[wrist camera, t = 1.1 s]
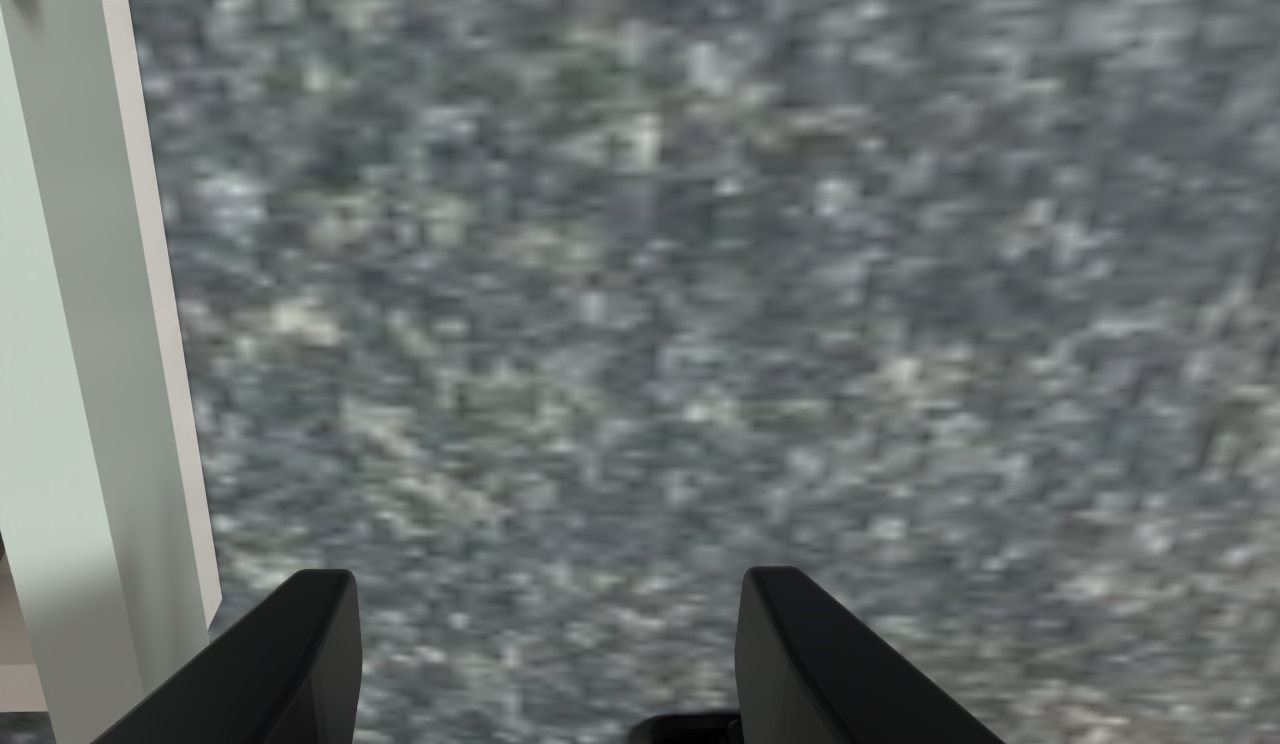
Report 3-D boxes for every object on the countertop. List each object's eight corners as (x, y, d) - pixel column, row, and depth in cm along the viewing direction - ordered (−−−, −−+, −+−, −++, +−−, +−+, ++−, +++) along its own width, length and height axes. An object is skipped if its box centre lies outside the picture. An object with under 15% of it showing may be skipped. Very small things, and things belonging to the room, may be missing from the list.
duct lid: (176, 708, 20) (249, 691, 21) (176, 1195, 13) (291, 1149, 13) (-75, -595, 12) (61, -568, 12) (-517, -1423, 4) (-117, -1262, 5)
